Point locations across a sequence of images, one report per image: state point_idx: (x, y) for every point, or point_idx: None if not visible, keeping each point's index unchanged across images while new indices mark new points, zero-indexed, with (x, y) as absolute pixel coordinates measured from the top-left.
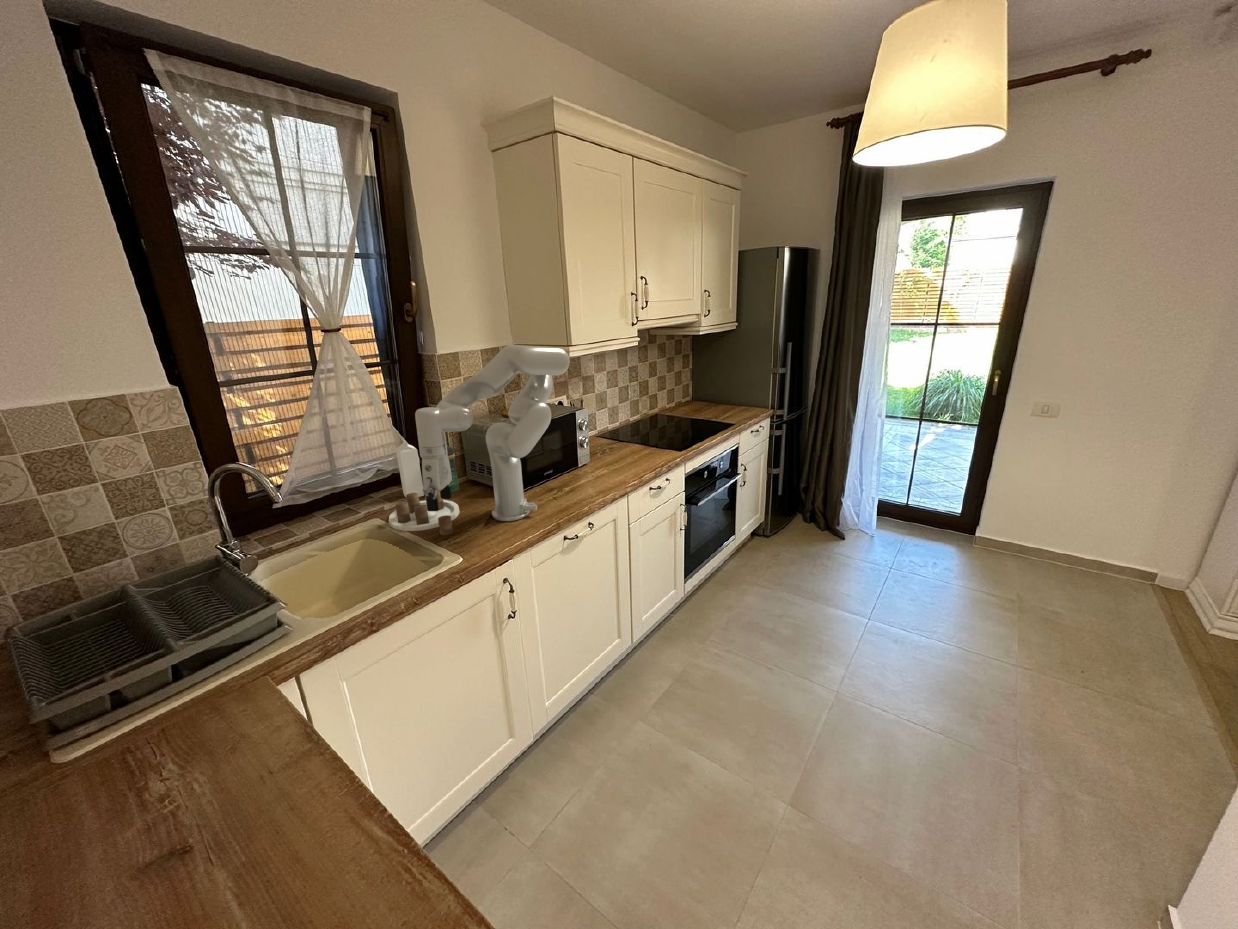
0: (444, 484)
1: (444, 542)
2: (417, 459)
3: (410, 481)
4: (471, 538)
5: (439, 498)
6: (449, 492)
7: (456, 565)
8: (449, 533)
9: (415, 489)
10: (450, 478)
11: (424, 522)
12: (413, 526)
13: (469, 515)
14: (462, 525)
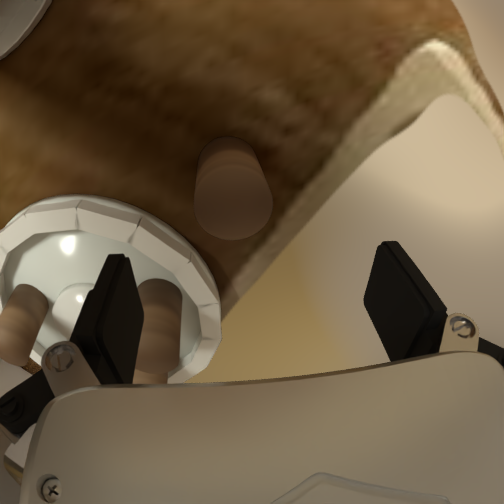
0: (401, 405)
1: (296, 149)
2: None
3: None
4: (256, 35)
5: (17, 322)
6: (115, 293)
7: (465, 59)
8: (249, 149)
9: (7, 390)
10: (100, 437)
11: (172, 295)
12: (213, 315)
13: (22, 160)
14: (116, 139)
